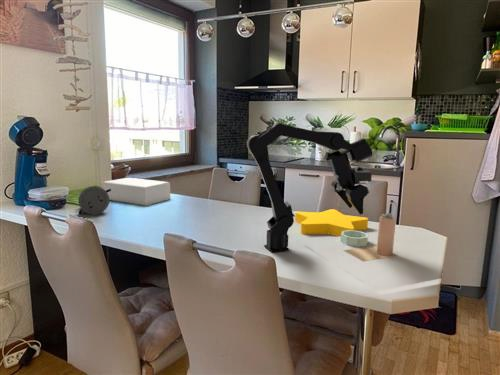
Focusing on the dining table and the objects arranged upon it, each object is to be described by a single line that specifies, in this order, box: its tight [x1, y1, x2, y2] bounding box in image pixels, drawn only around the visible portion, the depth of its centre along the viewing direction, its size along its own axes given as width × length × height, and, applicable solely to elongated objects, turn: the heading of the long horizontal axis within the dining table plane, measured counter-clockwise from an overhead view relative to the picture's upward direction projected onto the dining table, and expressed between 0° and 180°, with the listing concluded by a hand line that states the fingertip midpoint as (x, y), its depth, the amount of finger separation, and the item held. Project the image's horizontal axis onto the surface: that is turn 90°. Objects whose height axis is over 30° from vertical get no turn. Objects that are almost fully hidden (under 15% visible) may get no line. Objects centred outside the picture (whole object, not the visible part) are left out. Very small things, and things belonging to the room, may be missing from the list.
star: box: [294, 208, 369, 238], centre depth 147 cm, size 30×4×29 cm
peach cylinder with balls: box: [376, 212, 397, 256], centre depth 115 cm, size 5×5×13 cm
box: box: [102, 177, 171, 206], centre depth 195 cm, size 19×30×10 cm, turn 63°
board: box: [343, 245, 399, 262], centre depth 116 cm, size 14×10×1 cm
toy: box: [77, 185, 111, 215], centre depth 165 cm, size 17×13×30 cm
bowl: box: [339, 230, 369, 248], centre depth 127 cm, size 9×9×4 cm
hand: (356, 210), depth 122 cm, fingers open, 9 cm apart
